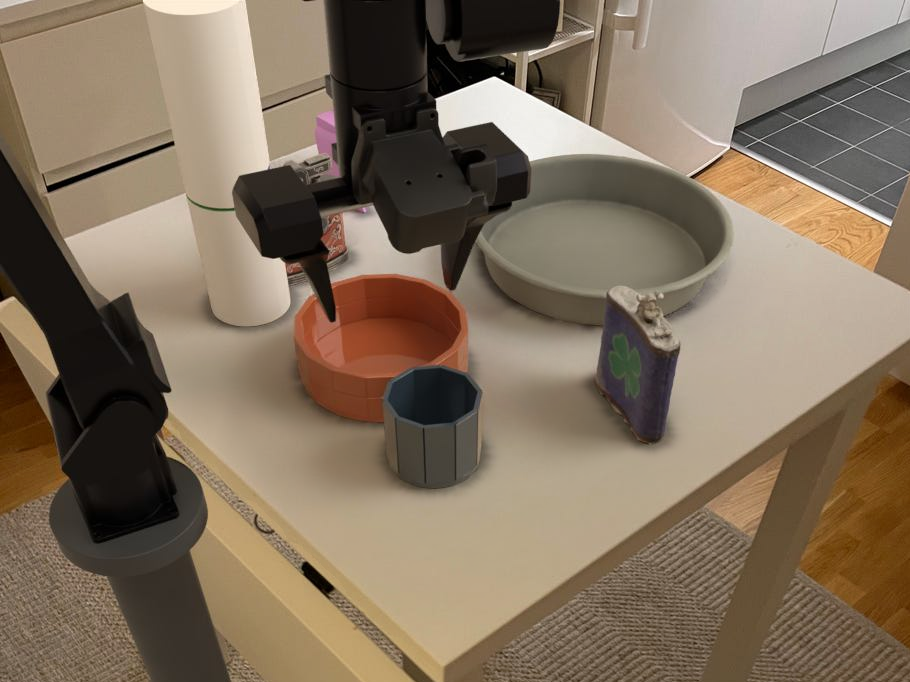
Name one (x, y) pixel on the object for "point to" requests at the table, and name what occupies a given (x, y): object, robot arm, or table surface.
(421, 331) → the orange bowl
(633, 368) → the flask
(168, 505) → the robot arm
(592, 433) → the table surface
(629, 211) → the cake pan
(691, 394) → the table surface
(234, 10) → the cylindrical container
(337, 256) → the lighter
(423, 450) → the small bowl
